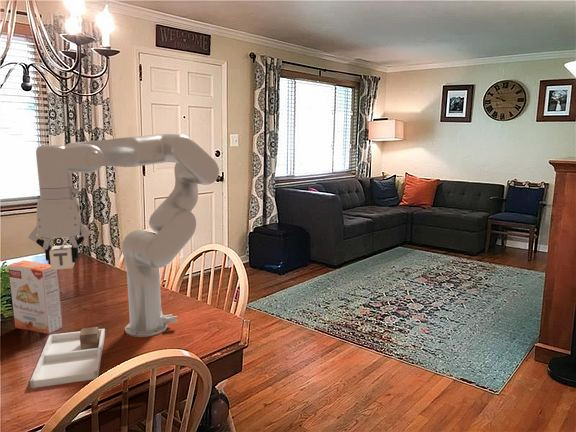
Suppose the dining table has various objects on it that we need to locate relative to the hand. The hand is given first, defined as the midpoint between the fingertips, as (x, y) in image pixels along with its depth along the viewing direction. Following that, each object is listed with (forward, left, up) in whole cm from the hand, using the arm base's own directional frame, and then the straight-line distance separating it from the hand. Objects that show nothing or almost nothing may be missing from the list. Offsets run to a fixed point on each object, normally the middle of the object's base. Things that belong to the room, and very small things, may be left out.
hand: (62, 261), depth 122 cm
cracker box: (+12, -22, -28) cm, 37 cm away
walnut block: (-4, -4, -27) cm, 28 cm away
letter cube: (0, 0, -1) cm, 1 cm away
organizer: (0, +2, -27) cm, 27 cm away
